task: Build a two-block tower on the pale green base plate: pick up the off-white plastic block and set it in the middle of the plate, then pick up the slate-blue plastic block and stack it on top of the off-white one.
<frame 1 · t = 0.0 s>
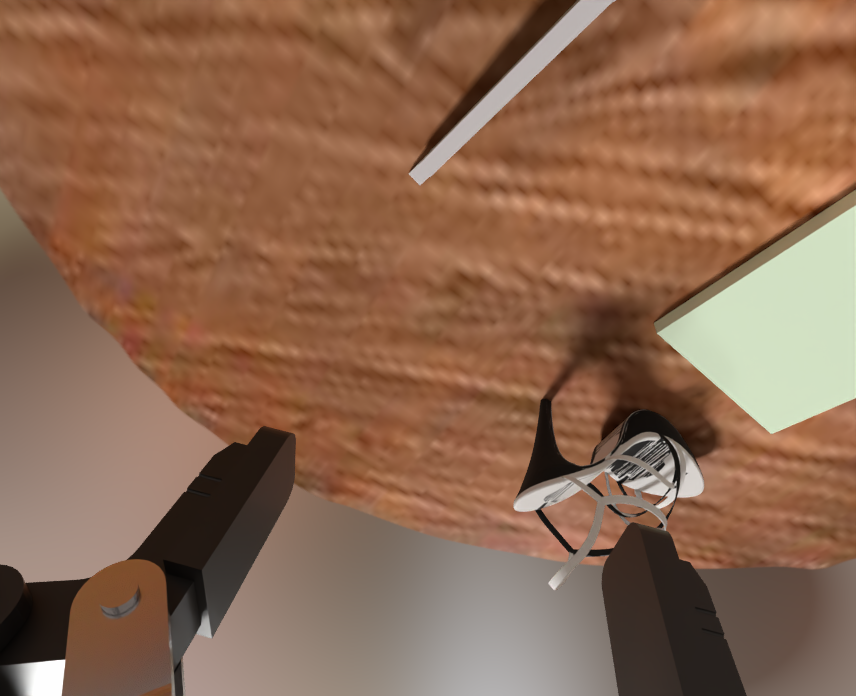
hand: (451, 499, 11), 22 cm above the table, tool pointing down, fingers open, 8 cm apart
sandal: (610, 427, 39), on the table
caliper: (548, 40, 24), on the table
base plate: (808, 323, 30), on the table
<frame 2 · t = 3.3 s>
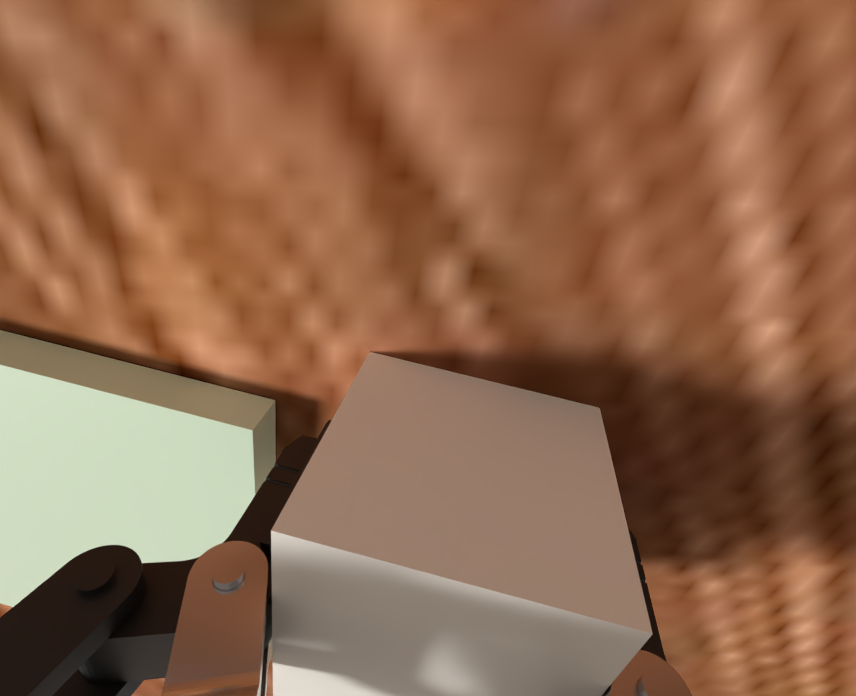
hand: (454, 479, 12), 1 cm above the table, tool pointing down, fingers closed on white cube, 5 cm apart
base plate: (95, 501, 16), on the table
white cube: (458, 462, 12), on the table, touching gripper
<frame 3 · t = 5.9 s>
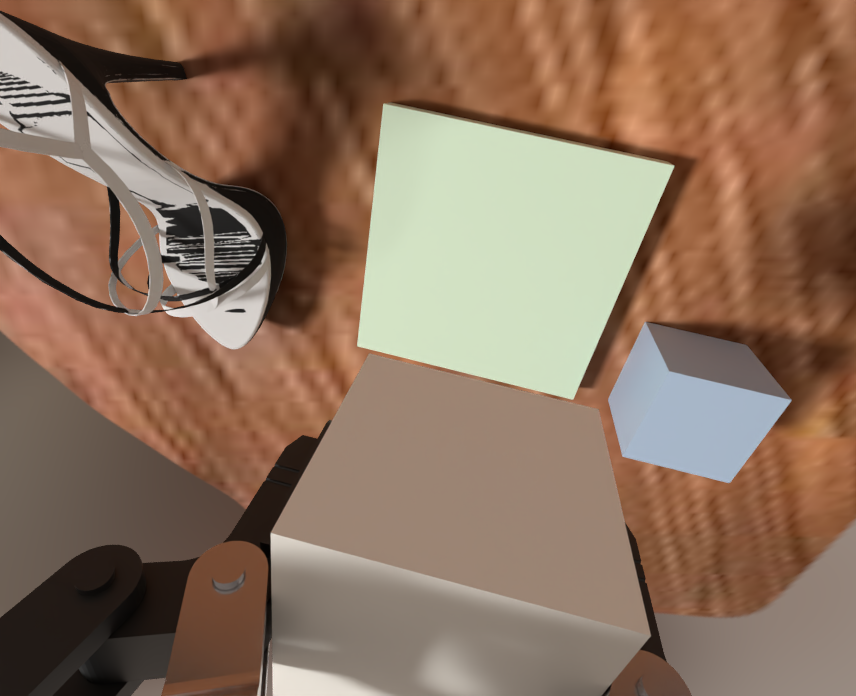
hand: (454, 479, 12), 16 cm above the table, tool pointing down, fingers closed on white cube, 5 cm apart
sandal: (221, 198, 26), on the table
base plate: (491, 262, 25), on the table
white cube: (458, 463, 12), point 15 cm above the table, touching gripper
brick top: (672, 372, 26), on the table
when the fingers open (3 cm above the table, at t = 8.8 s): white cube stays where it is, resting on base plate.
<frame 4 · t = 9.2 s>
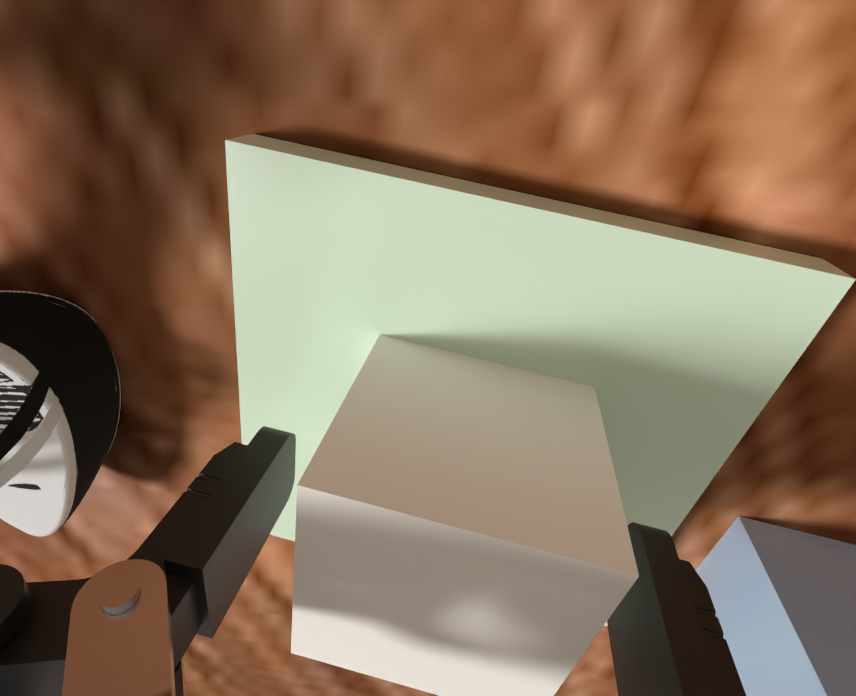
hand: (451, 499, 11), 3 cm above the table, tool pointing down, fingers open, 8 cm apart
base plate: (465, 413, 14), on the table
white cube: (462, 440, 13), point 1 cm above the table, touching base plate
brick top: (778, 586, 15), on the table
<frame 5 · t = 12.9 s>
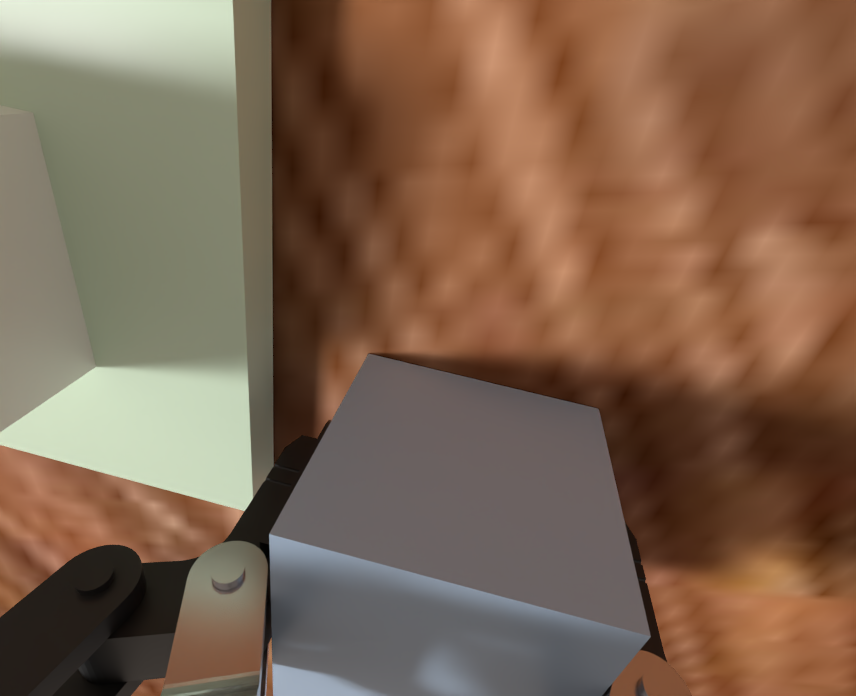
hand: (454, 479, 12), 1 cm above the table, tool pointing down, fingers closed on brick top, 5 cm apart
base plate: (2, 214, 11), on the table
brick top: (458, 463, 12), on the table, touching gripper
when the fingers open (8 cm above the table, at t = 17.4 s): brick top stays where it is, resting on white cube.
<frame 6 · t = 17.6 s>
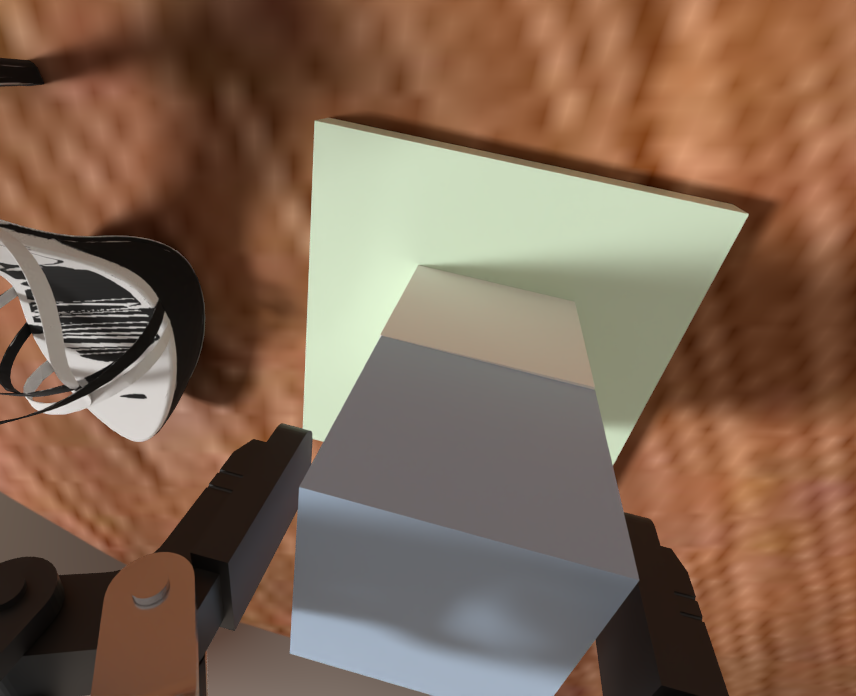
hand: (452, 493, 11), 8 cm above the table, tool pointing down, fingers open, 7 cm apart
sandal: (114, 244, 19), on the table
base plate: (478, 334, 18), on the table
white cube: (477, 349, 17), point 1 cm above the table, touching base plate, brick top
brick top: (462, 442, 13), point 6 cm above the table, touching white cube
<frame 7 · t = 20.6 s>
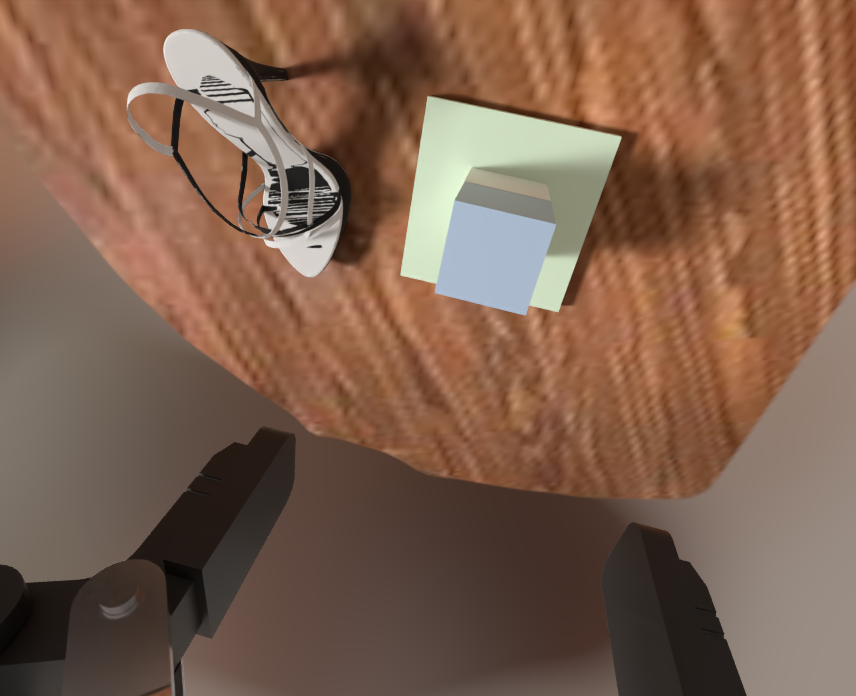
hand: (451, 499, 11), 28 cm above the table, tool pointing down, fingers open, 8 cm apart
sandal: (304, 165, 36), on the table
base plate: (499, 209, 35), on the table
white cube: (499, 213, 34), point 1 cm above the table, touching base plate, brick top
brick top: (496, 234, 30), point 6 cm above the table, touching white cube
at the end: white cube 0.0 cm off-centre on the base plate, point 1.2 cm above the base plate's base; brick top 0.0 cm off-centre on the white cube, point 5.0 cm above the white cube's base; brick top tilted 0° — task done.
